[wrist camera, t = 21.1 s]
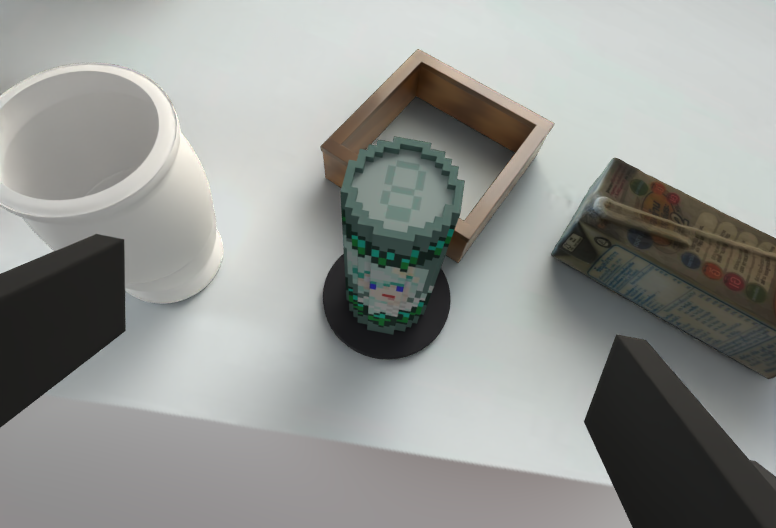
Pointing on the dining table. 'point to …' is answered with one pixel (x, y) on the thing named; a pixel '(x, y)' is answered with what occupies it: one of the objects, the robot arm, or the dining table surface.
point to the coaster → (381, 342)
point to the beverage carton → (678, 262)
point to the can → (396, 229)
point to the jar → (110, 174)
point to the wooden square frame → (462, 103)
